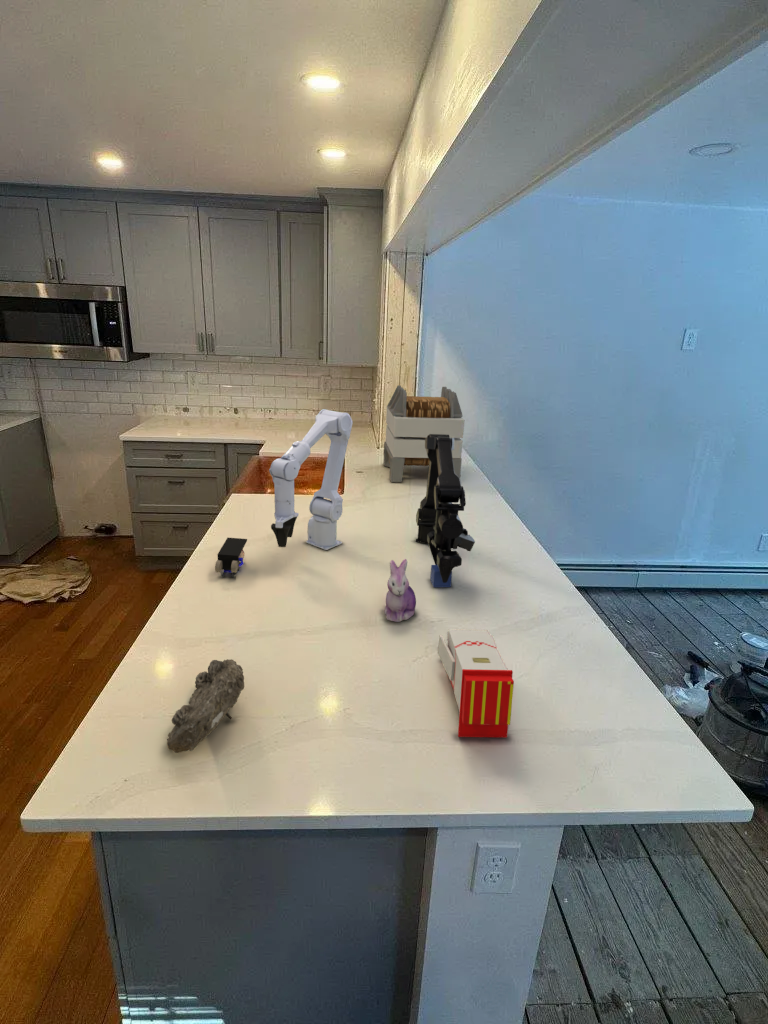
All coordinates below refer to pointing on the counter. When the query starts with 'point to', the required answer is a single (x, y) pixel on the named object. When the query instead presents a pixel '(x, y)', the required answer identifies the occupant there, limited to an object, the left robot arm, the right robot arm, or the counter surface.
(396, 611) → the figurine
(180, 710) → the fossil
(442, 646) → the toy
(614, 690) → the counter surface
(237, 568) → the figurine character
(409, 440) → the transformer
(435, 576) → the blue cube
